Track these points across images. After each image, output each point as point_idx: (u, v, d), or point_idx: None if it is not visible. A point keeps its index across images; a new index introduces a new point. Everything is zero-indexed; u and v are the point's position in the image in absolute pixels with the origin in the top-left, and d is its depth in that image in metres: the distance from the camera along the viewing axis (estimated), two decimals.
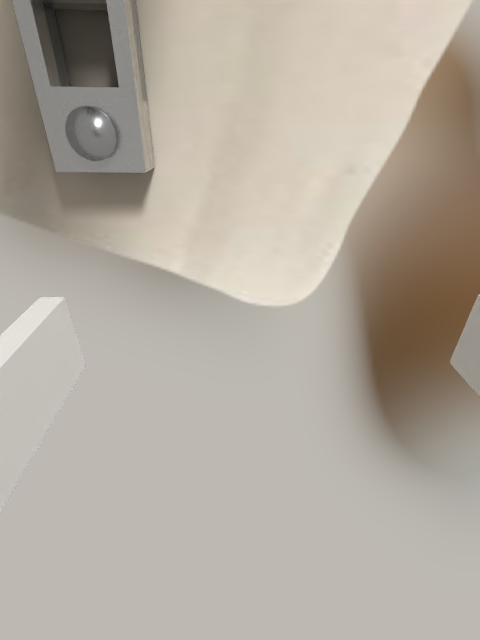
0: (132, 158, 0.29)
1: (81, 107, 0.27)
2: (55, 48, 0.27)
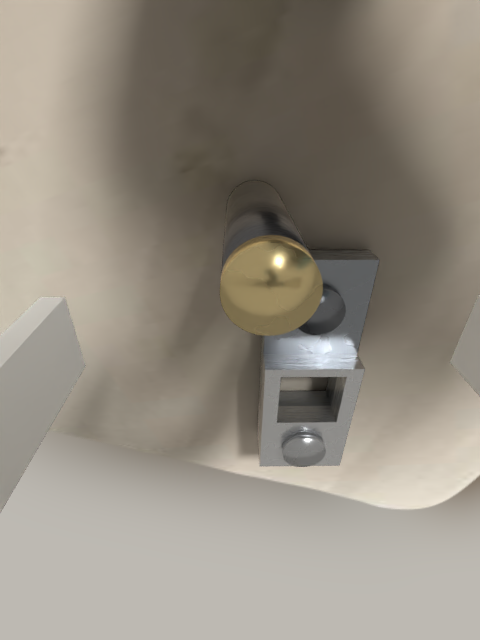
0: (331, 458, 0.33)
1: (303, 440, 0.30)
2: None
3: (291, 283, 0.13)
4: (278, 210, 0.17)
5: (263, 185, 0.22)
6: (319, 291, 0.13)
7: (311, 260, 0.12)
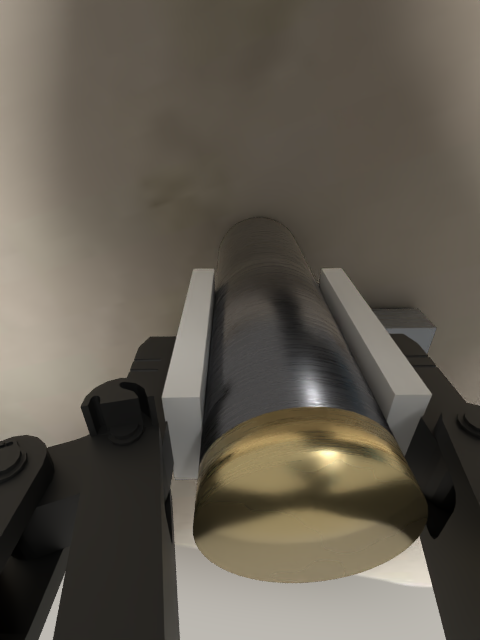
0: None
1: None
2: None
3: (357, 518, 0.06)
4: (305, 294, 0.09)
5: (272, 228, 0.15)
6: (418, 528, 0.06)
7: (411, 484, 0.05)
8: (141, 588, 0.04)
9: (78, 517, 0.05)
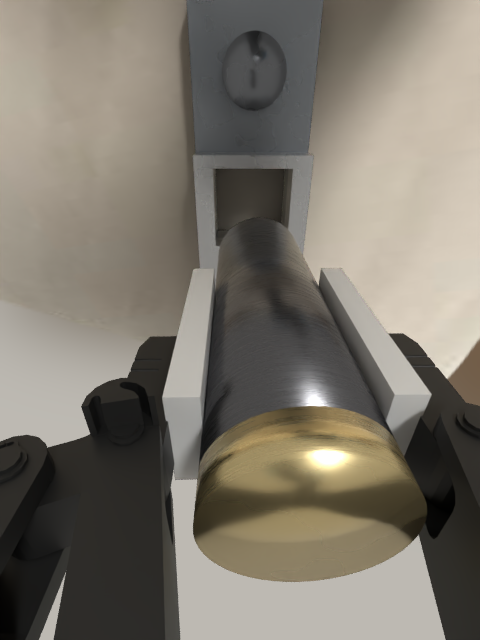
0: None
1: None
2: None
3: (356, 517, 0.06)
4: (305, 294, 0.09)
5: (272, 228, 0.15)
6: (417, 527, 0.06)
7: (410, 483, 0.05)
8: (141, 588, 0.04)
9: (78, 517, 0.05)
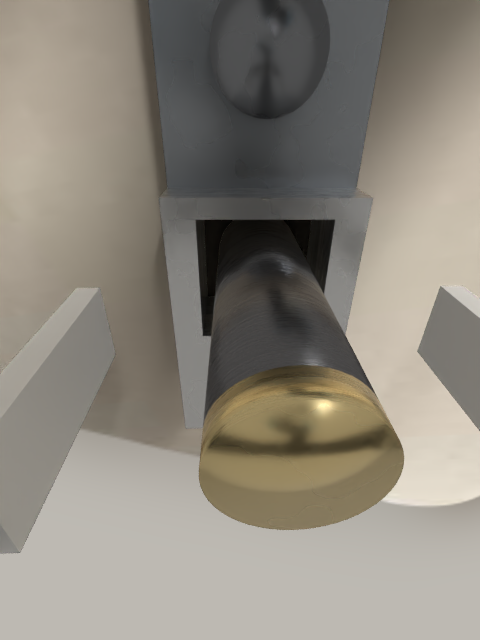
0: None
1: None
2: (203, 260, 0.16)
3: (342, 462, 0.06)
4: (300, 277, 0.10)
5: (270, 221, 0.15)
6: (396, 473, 0.07)
7: (387, 428, 0.06)
8: None
9: None
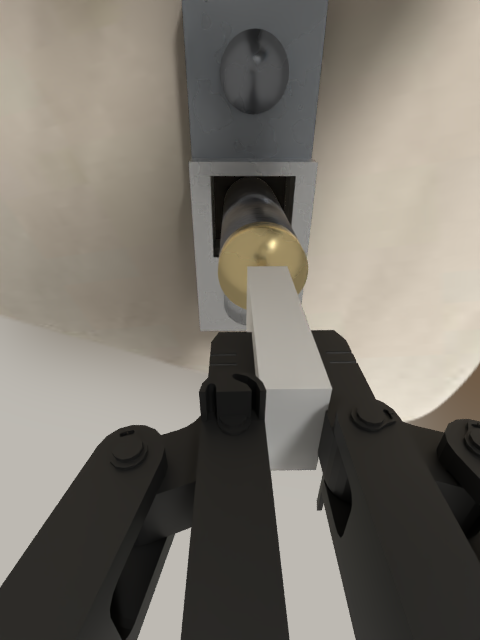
0: None
1: None
2: (213, 209, 0.25)
3: (280, 264, 0.15)
4: (270, 202, 0.18)
5: (257, 181, 0.24)
6: (305, 271, 0.15)
7: (297, 243, 0.14)
8: (261, 577, 0.04)
9: (194, 496, 0.05)
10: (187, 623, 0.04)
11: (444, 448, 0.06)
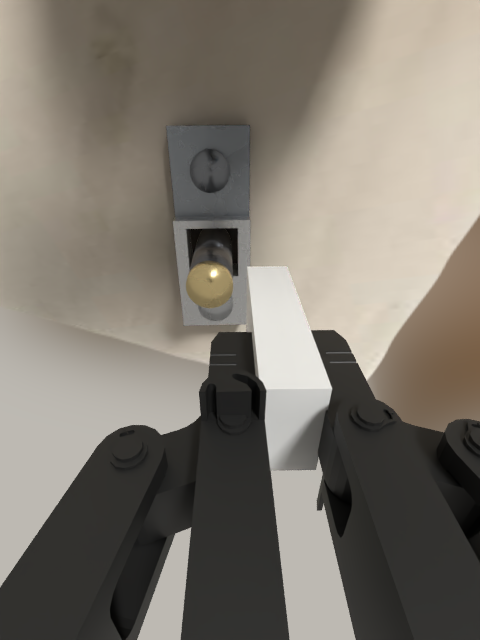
0: (241, 316, 0.40)
1: None
2: (190, 246, 0.38)
3: (218, 282, 0.28)
4: (219, 246, 0.32)
5: (217, 229, 0.37)
6: (231, 286, 0.28)
7: (225, 271, 0.28)
8: (262, 577, 0.04)
9: (194, 496, 0.05)
10: (187, 623, 0.04)
11: (444, 448, 0.06)
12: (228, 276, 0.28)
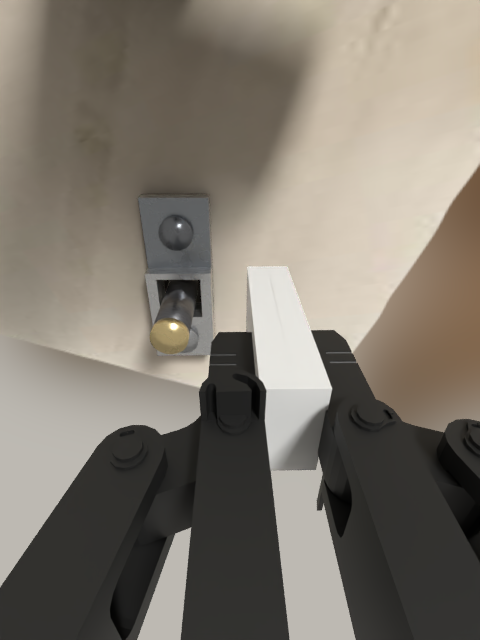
0: (206, 348, 0.47)
1: None
2: (162, 290, 0.45)
3: (175, 335, 0.35)
4: (181, 299, 0.39)
5: None
6: (187, 338, 0.35)
7: (181, 328, 0.34)
8: (262, 577, 0.04)
9: (195, 496, 0.05)
10: (187, 623, 0.04)
11: (444, 448, 0.06)
12: (184, 331, 0.35)
